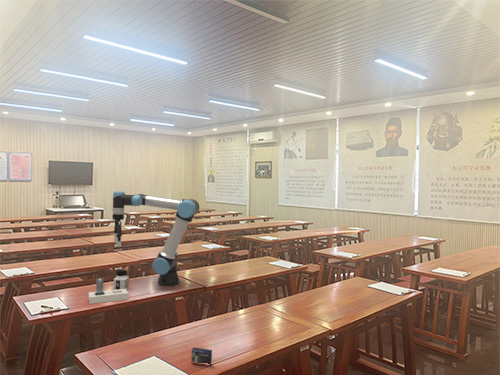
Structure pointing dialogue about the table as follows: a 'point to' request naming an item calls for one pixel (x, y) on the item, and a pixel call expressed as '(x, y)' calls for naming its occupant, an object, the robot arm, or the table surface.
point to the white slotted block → (108, 296)
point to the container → (121, 280)
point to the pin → (99, 286)
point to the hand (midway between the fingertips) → (117, 244)
